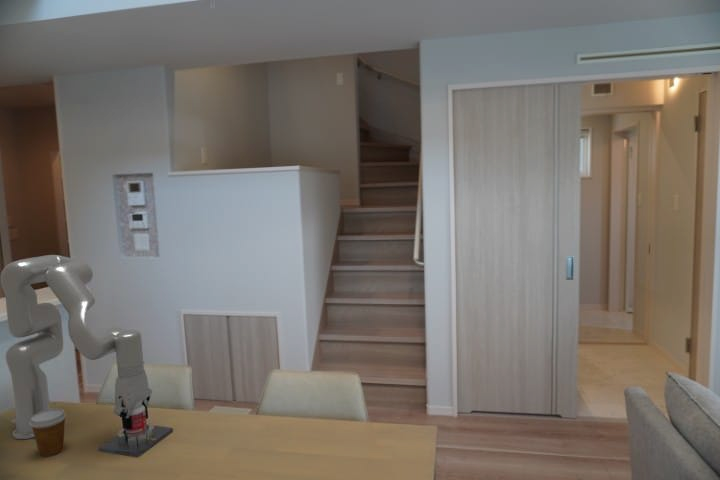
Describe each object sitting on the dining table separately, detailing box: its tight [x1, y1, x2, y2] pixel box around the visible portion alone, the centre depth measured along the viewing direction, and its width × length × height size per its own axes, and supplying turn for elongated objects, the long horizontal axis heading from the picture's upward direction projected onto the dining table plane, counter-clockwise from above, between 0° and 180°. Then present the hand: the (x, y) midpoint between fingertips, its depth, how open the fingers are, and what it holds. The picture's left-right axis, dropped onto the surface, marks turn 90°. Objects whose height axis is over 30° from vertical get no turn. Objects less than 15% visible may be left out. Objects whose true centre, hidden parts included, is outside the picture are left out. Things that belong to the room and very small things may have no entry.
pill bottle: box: [125, 400, 148, 437], centre depth 155 cm, size 6×6×11 cm
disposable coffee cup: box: [30, 408, 67, 458], centre depth 150 cm, size 10×10×12 cm
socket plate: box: [98, 422, 174, 458], centre depth 155 cm, size 15×16×4 cm
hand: (135, 423), depth 155 cm, fingers closed on pill bottle, 6 cm apart
